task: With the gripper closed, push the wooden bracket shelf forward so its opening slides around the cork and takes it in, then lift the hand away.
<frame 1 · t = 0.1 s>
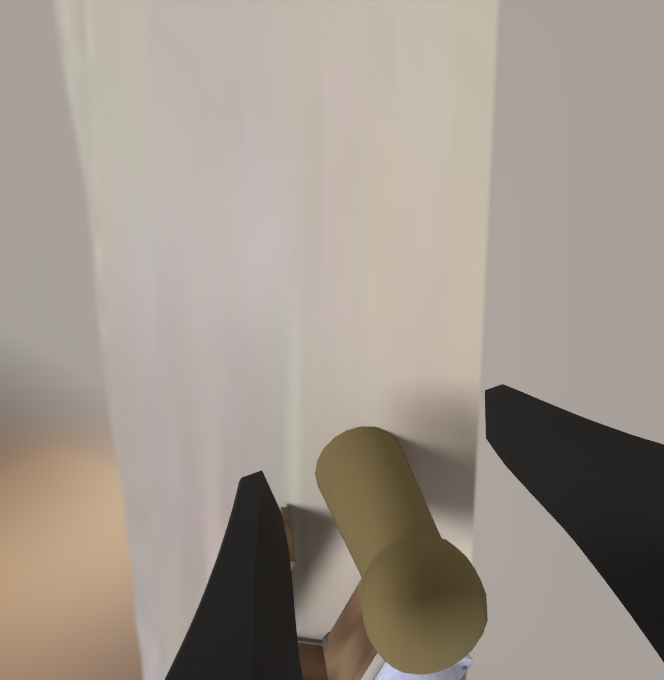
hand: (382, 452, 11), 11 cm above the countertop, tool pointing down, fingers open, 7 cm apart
cork: (359, 465, 24), on the countertop
wooden bracket shelf: (309, 611, 23), point 2 cm above the countertop, slide at 0.0 cm
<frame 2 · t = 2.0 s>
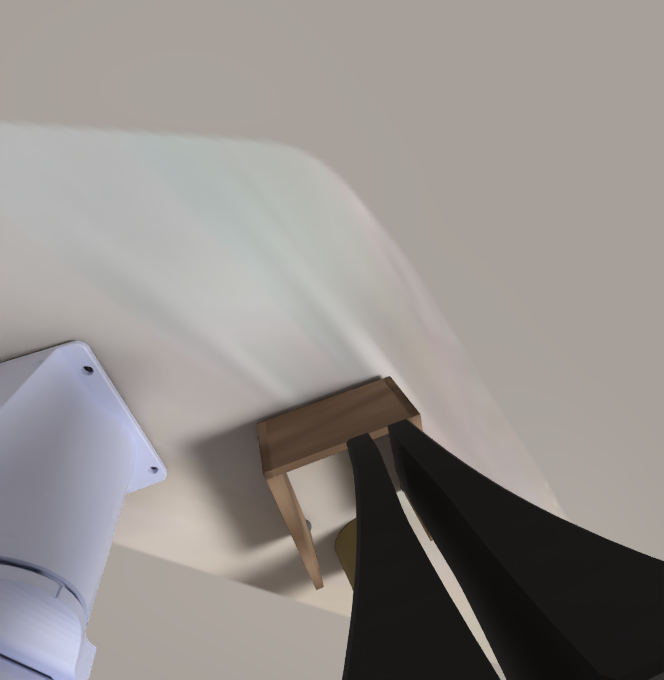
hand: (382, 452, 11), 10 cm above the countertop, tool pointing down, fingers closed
cork: (369, 535, 30), on the countertop
wooden bracket shelf: (351, 482, 23), point 2 cm above the countertop, slide at 0.0 cm
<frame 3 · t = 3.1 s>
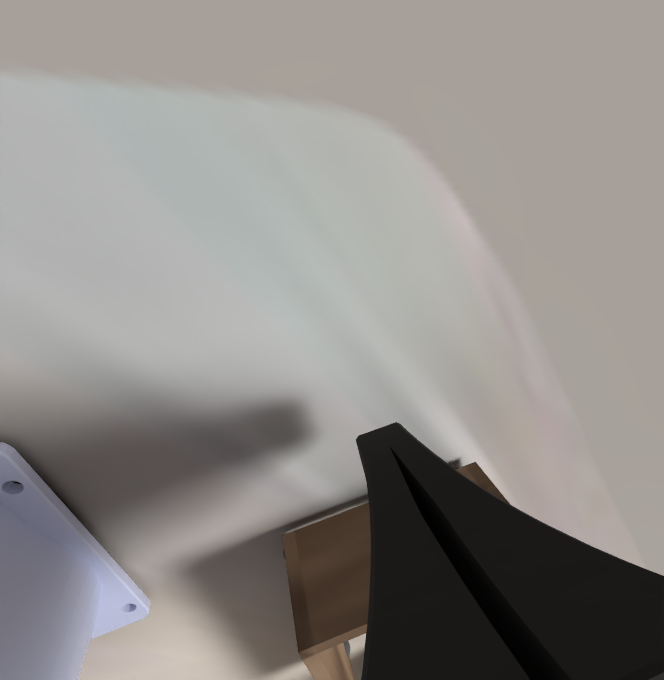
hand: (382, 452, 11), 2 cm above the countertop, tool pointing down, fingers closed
wooden bracket shelf: (415, 610, 16), point 2 cm above the countertop, slide at 0.0 cm
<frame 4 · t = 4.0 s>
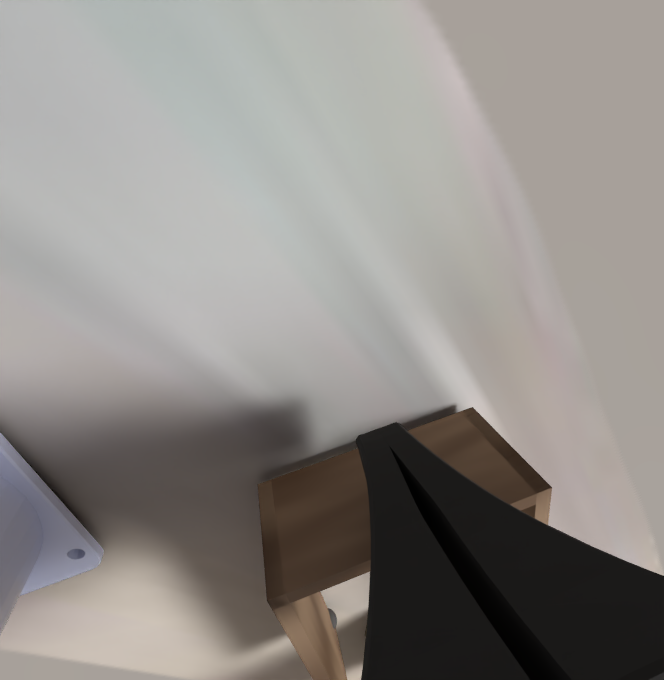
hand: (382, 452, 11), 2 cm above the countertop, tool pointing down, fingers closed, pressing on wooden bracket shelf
wooden bracket shelf: (406, 572, 15), point 2 cm above the countertop, slide at 0.5 cm, touching gripper
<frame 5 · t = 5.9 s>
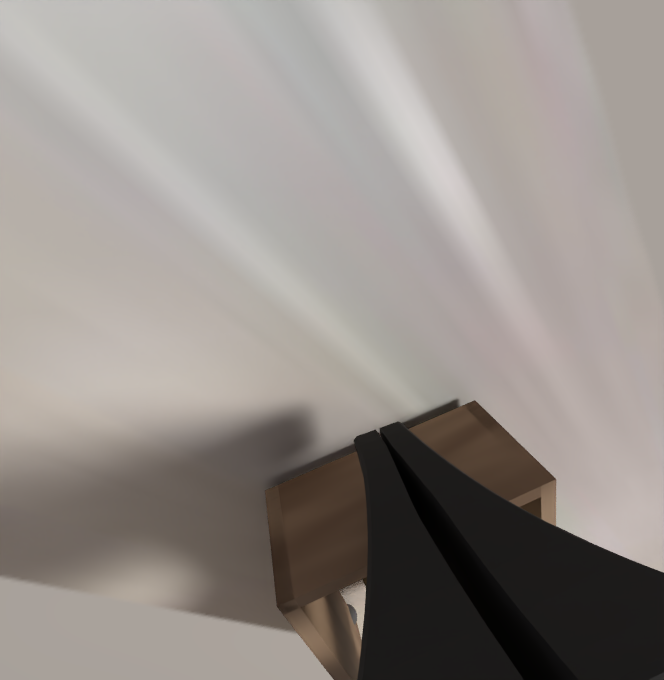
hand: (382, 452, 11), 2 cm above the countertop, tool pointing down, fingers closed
wooden bracket shelf: (420, 567, 15), point 2 cm above the countertop, slide at 8.8 cm, touching gripper
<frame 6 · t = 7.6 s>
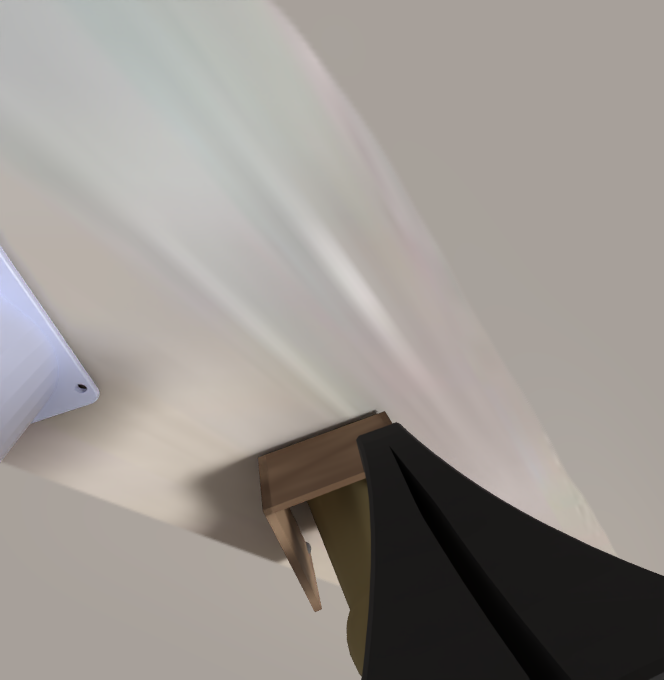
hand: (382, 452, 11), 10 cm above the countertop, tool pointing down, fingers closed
cork: (346, 487, 27), on the countertop
wooden bracket shelf: (348, 511, 24), point 2 cm above the countertop, slide at 8.8 cm
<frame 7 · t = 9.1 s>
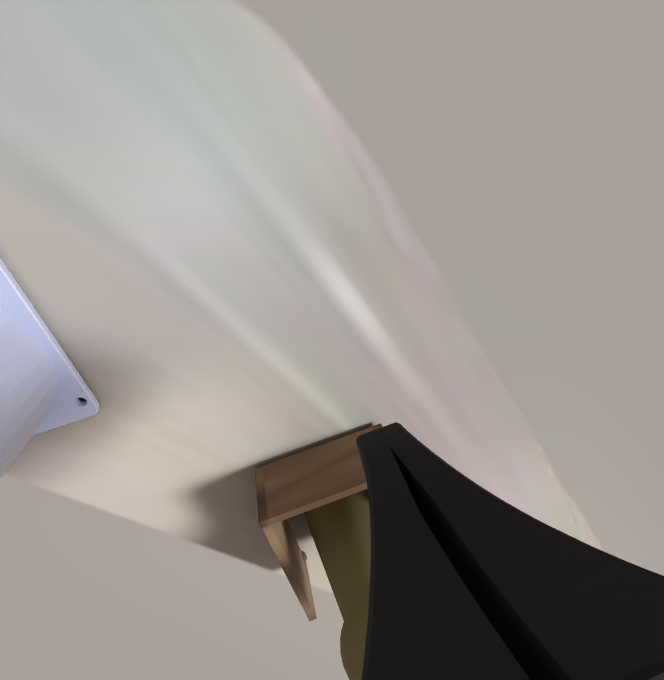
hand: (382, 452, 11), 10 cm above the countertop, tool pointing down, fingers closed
cork: (341, 497, 27), on the countertop
wooden bracket shelf: (343, 521, 25), point 2 cm above the countertop, slide at 8.8 cm
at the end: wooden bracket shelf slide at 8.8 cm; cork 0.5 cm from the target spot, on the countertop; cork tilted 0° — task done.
